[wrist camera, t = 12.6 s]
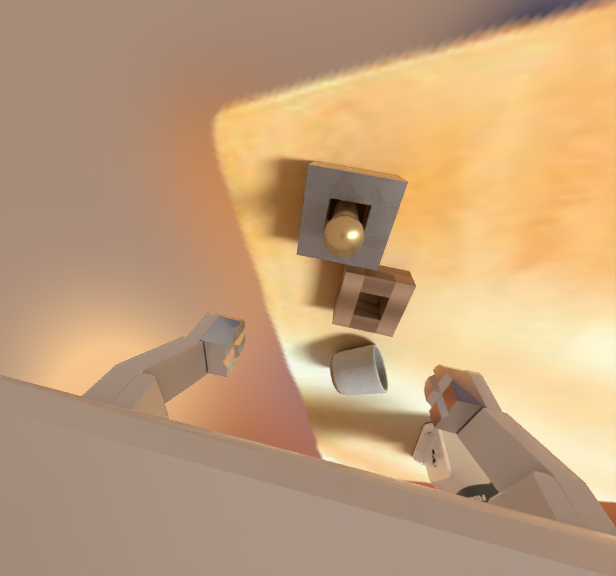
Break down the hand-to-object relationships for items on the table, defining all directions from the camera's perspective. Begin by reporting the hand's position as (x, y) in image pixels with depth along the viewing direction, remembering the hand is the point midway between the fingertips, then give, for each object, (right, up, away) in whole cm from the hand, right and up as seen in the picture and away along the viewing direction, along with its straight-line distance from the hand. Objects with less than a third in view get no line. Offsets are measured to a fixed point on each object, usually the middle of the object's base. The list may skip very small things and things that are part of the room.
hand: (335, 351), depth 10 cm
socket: (+4, +13, +20) cm, 24 cm away
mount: (+8, +2, +26) cm, 27 cm away
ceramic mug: (+9, -10, +34) cm, 37 cm away
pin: (+4, +13, +20) cm, 24 cm away
